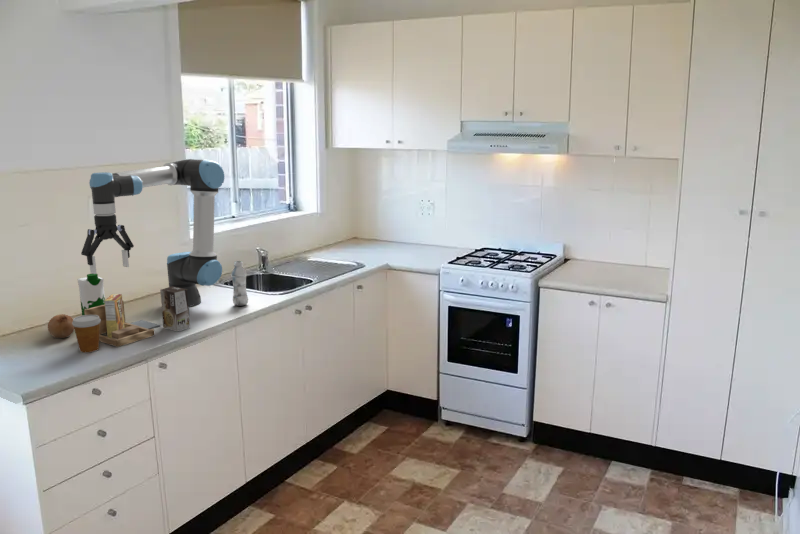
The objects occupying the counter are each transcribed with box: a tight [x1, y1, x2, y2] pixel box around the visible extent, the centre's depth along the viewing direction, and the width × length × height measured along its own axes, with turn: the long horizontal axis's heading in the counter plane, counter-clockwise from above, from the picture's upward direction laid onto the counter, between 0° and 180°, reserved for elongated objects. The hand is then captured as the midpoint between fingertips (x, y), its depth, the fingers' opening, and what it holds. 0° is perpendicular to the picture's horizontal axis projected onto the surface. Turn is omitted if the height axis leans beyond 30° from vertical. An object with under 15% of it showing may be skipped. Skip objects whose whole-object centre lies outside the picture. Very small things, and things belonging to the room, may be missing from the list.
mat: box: [130, 319, 161, 329], centre depth 275 cm, size 8×12×1 cm, turn 56°
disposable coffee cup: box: [72, 315, 101, 353], centre depth 246 cm, size 10×10×12 cm
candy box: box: [104, 293, 124, 338], centre depth 262 cm, size 9×4×15 cm, turn 6°
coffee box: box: [160, 286, 191, 332], centre depth 271 cm, size 9×6×16 cm
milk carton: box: [77, 273, 106, 316], centre depth 280 cm, size 9×9×20 cm
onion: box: [47, 313, 75, 339], centre depth 261 cm, size 10×9×10 cm
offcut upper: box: [111, 326, 139, 339], centre depth 258 cm, size 9×4×2 cm, turn 148°
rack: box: [84, 300, 155, 348], centre depth 261 cm, size 16×20×11 cm
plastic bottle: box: [231, 260, 249, 307], centre depth 302 cm, size 6×7×20 cm
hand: (110, 270), depth 258 cm, fingers open, 13 cm apart
